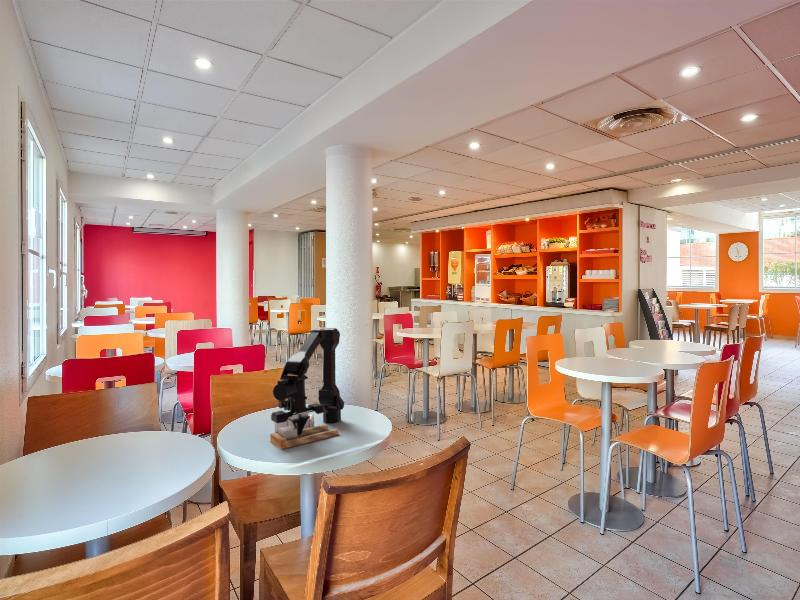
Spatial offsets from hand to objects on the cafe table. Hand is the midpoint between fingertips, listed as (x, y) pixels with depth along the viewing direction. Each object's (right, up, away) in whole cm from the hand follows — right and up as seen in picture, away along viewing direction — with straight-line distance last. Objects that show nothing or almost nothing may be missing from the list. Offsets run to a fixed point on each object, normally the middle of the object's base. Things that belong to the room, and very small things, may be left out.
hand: (299, 435), depth 167 cm
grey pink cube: (-4, -2, -3) cm, 5 cm away
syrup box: (-12, +1, +12) cm, 17 cm away
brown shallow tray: (+2, -2, +2) cm, 3 cm away
